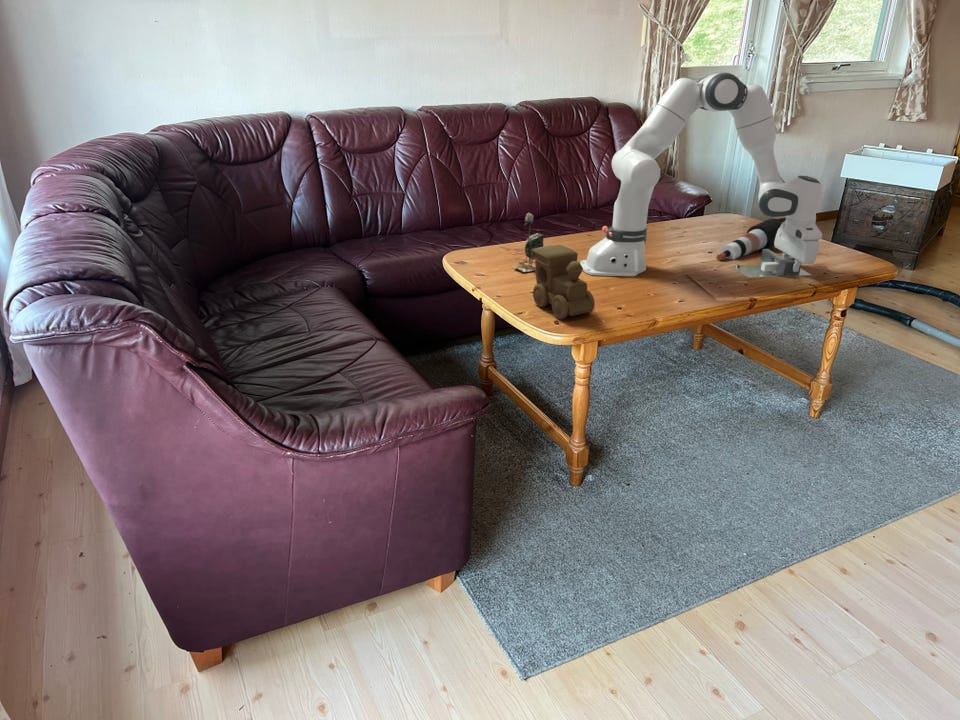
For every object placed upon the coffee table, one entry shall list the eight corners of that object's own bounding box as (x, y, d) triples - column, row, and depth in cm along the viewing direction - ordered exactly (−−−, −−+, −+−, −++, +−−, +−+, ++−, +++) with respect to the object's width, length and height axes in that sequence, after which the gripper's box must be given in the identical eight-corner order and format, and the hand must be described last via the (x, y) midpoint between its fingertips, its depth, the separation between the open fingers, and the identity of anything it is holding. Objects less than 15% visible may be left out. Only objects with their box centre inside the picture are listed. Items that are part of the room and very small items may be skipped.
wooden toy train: (527, 301, 203) (528, 248, 196) (558, 295, 208) (561, 243, 201) (564, 324, 187) (567, 267, 180) (597, 317, 192) (602, 261, 185)
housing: (747, 280, 220) (751, 260, 217) (731, 268, 231) (734, 250, 228) (811, 277, 222) (815, 258, 219) (792, 266, 233) (796, 247, 230)
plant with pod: (549, 269, 230) (552, 211, 221) (520, 274, 226) (522, 215, 217) (537, 263, 237) (539, 206, 228) (509, 267, 232) (510, 209, 224)
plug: (764, 274, 222) (767, 263, 220) (759, 270, 226) (761, 259, 224) (799, 273, 223) (801, 261, 222) (793, 269, 227) (795, 258, 225)
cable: (711, 273, 240) (702, 247, 239) (765, 247, 257) (757, 222, 255) (735, 268, 231) (725, 240, 230) (789, 241, 248) (781, 215, 247)
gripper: (773, 219, 227) (766, 259, 233) (806, 236, 209) (797, 278, 215) (791, 219, 228) (783, 258, 234) (825, 235, 210) (815, 278, 216)
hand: (790, 268), depth 224 cm, fingers closed on plug, 4 cm apart
